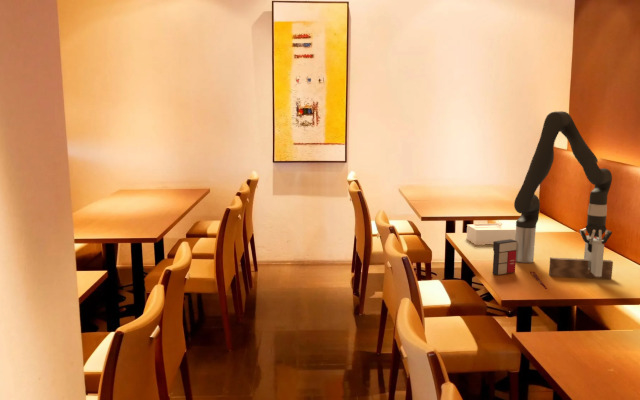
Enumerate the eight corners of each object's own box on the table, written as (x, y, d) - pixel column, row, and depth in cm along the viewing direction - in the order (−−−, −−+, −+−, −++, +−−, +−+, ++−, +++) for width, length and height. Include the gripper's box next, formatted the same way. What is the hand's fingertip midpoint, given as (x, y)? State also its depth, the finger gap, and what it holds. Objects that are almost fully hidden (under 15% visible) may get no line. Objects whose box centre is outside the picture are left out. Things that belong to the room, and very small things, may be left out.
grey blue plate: (601, 276, 255) (604, 245, 252) (595, 276, 255) (598, 244, 253) (589, 265, 272) (591, 235, 270) (583, 265, 273) (585, 235, 270)
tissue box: (519, 244, 325) (520, 225, 323) (475, 245, 323) (476, 225, 321) (508, 238, 339) (509, 220, 338) (466, 239, 337) (467, 220, 335)
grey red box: (498, 275, 265) (500, 243, 263) (491, 273, 269) (493, 241, 267) (516, 272, 270) (518, 241, 268) (509, 270, 274) (511, 239, 272)
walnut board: (550, 276, 266) (551, 258, 264) (548, 274, 268) (550, 257, 267) (611, 279, 262) (613, 261, 260) (609, 277, 264) (611, 260, 263)
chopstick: (544, 290, 247) (545, 287, 247) (530, 273, 271) (530, 271, 271) (549, 290, 247) (549, 288, 247) (534, 273, 271) (534, 271, 270)
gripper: (582, 214, 257) (579, 253, 260) (616, 216, 255) (613, 255, 258) (578, 211, 264) (575, 249, 267) (611, 212, 262) (607, 250, 265)
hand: (593, 251), depth 262 cm, fingers closed on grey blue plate, 2 cm apart
